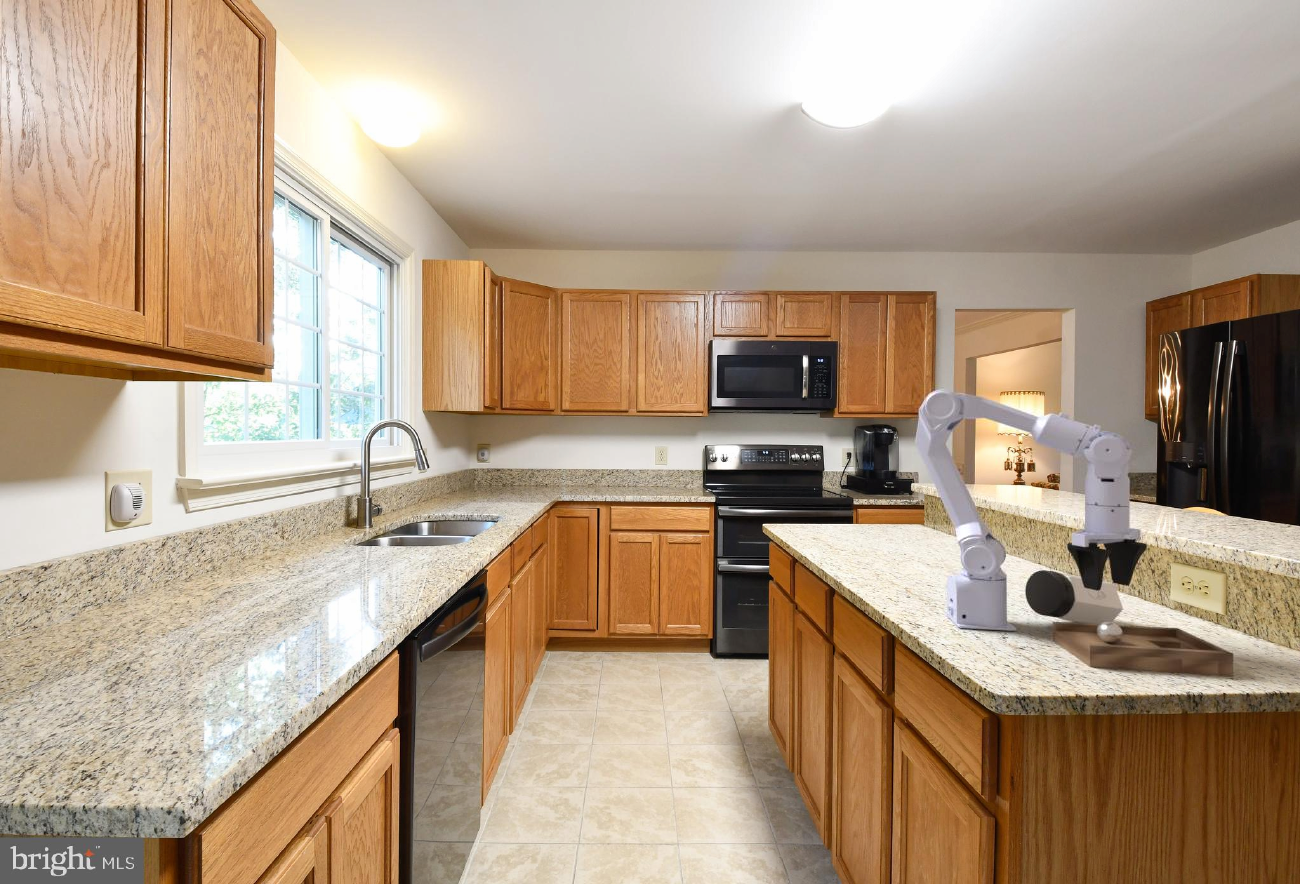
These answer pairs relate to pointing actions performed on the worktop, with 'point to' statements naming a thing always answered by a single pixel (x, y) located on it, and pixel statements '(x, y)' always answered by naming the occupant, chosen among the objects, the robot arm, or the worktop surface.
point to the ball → (1109, 632)
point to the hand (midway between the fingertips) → (1106, 586)
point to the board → (1144, 649)
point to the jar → (1071, 598)
